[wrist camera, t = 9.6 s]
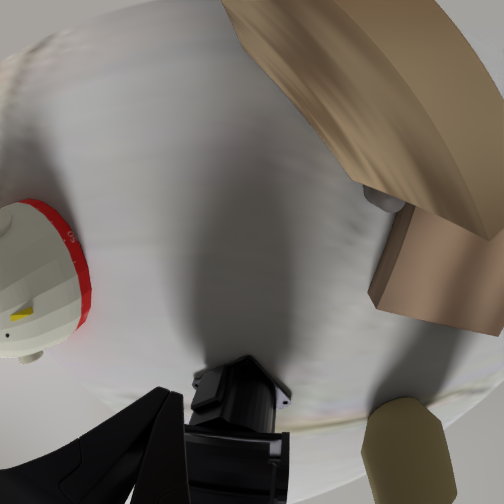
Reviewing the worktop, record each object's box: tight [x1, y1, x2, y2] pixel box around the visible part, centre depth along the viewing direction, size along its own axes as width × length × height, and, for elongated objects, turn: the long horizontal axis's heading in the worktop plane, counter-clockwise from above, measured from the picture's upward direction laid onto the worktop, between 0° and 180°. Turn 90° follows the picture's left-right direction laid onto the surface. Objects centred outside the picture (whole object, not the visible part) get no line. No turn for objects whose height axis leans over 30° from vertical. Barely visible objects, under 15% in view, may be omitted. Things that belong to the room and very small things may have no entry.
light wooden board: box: [221, 0, 504, 242], centre depth 10 cm, size 13×2×14 cm, turn 39°
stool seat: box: [368, 202, 504, 337], centre depth 17 cm, size 13×14×2 cm
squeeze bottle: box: [361, 397, 457, 504], centre depth 15 cm, size 8×8×18 cm
